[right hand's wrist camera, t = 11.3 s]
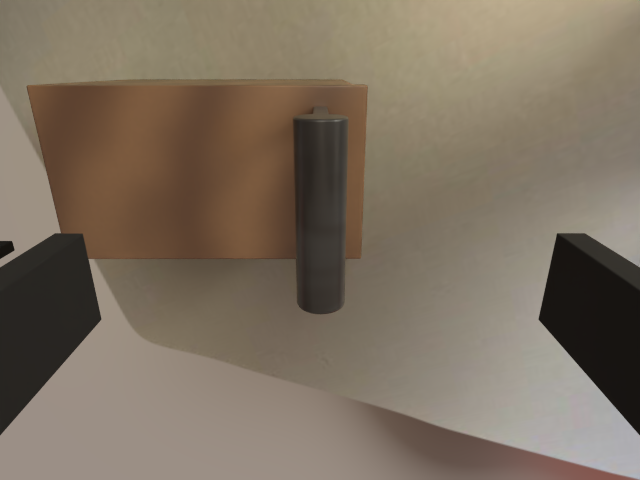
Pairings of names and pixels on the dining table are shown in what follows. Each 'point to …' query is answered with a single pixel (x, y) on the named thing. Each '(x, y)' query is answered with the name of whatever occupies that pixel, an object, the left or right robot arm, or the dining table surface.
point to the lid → (211, 174)
